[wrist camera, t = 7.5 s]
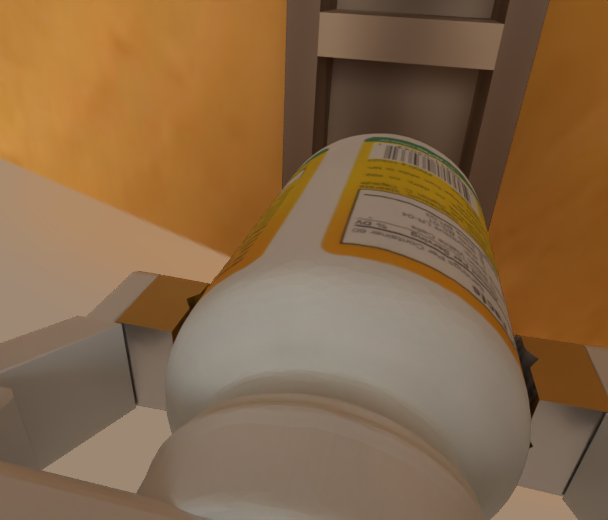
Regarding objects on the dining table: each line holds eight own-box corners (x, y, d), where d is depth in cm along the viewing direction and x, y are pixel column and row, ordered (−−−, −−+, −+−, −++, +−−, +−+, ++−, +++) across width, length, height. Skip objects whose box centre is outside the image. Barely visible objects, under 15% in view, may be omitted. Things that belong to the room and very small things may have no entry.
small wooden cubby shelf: (577, -214, 17) (623, -275, 13) (473, 210, 25) (482, 250, 21) (322, -211, 18) (294, -265, 14) (302, 188, 26) (281, 223, 22)
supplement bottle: (467, 104, 11) (604, 441, 3) (493, 301, 13) (610, 813, 5) (252, 155, 13) (-65, 456, 4) (307, 321, 15) (164, 728, 7)
